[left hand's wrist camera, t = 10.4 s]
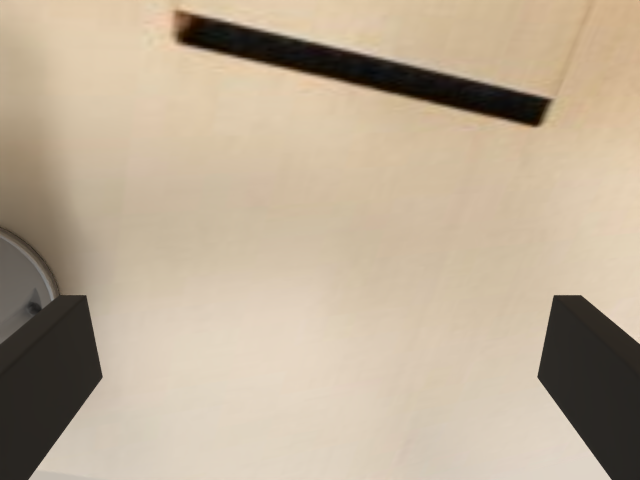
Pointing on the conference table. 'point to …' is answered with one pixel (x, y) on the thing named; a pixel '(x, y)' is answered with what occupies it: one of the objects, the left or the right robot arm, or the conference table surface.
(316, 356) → the conference table surface
